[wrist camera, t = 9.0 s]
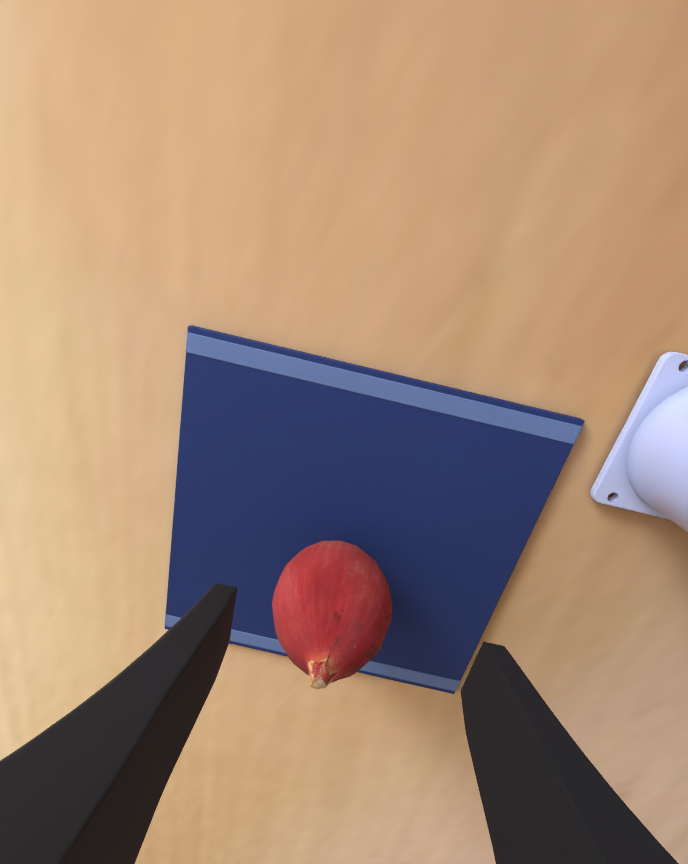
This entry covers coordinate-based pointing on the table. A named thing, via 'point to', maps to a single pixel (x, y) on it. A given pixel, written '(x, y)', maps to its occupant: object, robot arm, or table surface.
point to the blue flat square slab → (355, 493)
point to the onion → (331, 610)
